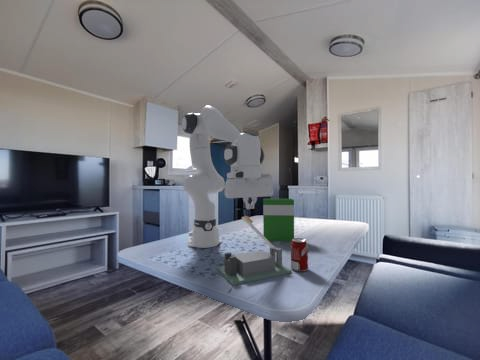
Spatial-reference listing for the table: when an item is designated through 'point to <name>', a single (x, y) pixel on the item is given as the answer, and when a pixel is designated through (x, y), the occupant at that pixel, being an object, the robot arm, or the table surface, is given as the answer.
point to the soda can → (299, 254)
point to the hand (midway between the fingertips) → (250, 208)
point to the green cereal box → (278, 219)
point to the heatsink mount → (253, 266)
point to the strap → (258, 232)
